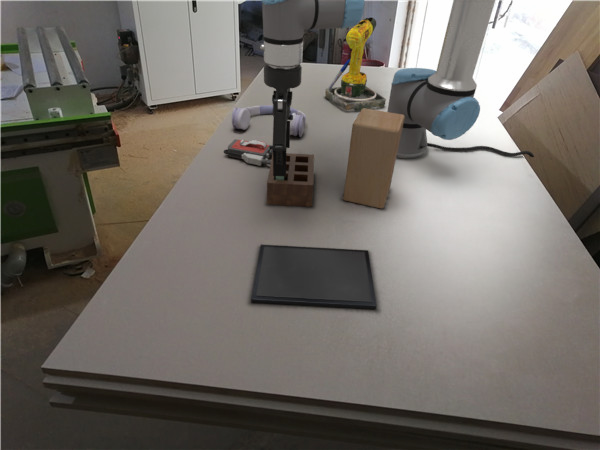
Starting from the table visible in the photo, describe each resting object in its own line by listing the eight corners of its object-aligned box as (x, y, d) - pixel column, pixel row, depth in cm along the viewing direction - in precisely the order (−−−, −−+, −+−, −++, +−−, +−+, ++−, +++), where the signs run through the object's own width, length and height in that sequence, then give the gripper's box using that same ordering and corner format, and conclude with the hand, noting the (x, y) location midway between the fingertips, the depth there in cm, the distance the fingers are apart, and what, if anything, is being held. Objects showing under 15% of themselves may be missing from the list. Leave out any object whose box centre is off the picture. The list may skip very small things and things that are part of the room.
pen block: (312, 174, 108) (313, 154, 104) (311, 206, 96) (313, 185, 92) (272, 172, 108) (272, 152, 104) (267, 204, 96) (266, 182, 92)
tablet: (367, 253, 83) (368, 249, 82) (375, 309, 71) (376, 305, 70) (260, 247, 83) (260, 243, 82) (251, 302, 71) (251, 298, 70)
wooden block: (389, 189, 104) (405, 114, 92) (383, 209, 96) (399, 130, 84) (351, 181, 106) (362, 107, 94) (342, 200, 98) (352, 122, 86)
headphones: (300, 141, 123) (311, 120, 140) (301, 118, 119) (313, 100, 136) (230, 132, 126) (249, 113, 143) (229, 110, 123) (249, 93, 139)
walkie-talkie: (220, 159, 112) (288, 172, 108) (218, 145, 110) (288, 157, 106) (233, 146, 119) (298, 158, 115) (232, 132, 117) (298, 144, 112)
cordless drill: (389, 107, 150) (403, 24, 133) (344, 112, 143) (353, 27, 127) (363, 91, 163) (373, 15, 147) (321, 96, 157) (327, 17, 140)
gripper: (269, 47, 89) (270, 136, 102) (255, 83, 69) (259, 188, 82) (303, 48, 89) (300, 137, 102) (299, 85, 69) (295, 190, 82)
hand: (281, 160), depth 92 cm, fingers open, 13 cm apart
